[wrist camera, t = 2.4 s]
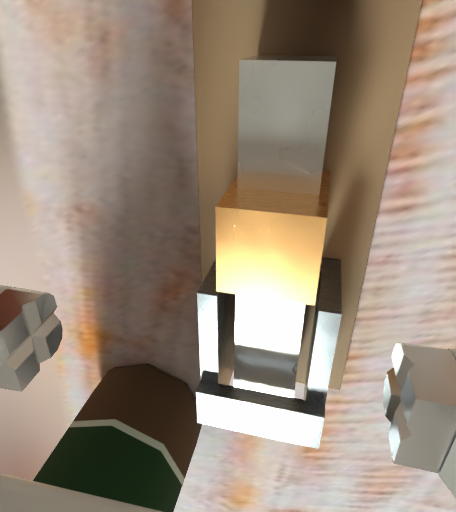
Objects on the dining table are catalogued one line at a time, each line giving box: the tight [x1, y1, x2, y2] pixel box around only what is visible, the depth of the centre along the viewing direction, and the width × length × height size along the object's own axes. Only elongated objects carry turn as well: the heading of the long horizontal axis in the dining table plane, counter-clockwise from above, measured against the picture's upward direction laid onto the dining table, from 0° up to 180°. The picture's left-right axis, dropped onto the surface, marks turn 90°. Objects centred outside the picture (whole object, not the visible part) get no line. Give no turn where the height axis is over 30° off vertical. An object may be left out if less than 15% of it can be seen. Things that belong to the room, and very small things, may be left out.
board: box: [192, 0, 422, 390], centre depth 17 cm, size 8×23×1 cm, turn 0°
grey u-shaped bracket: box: [196, 257, 342, 449], centre depth 18 cm, size 5×7×5 cm
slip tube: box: [215, 55, 337, 398], centre depth 15 cm, size 3×14×5 cm, turn 0°
